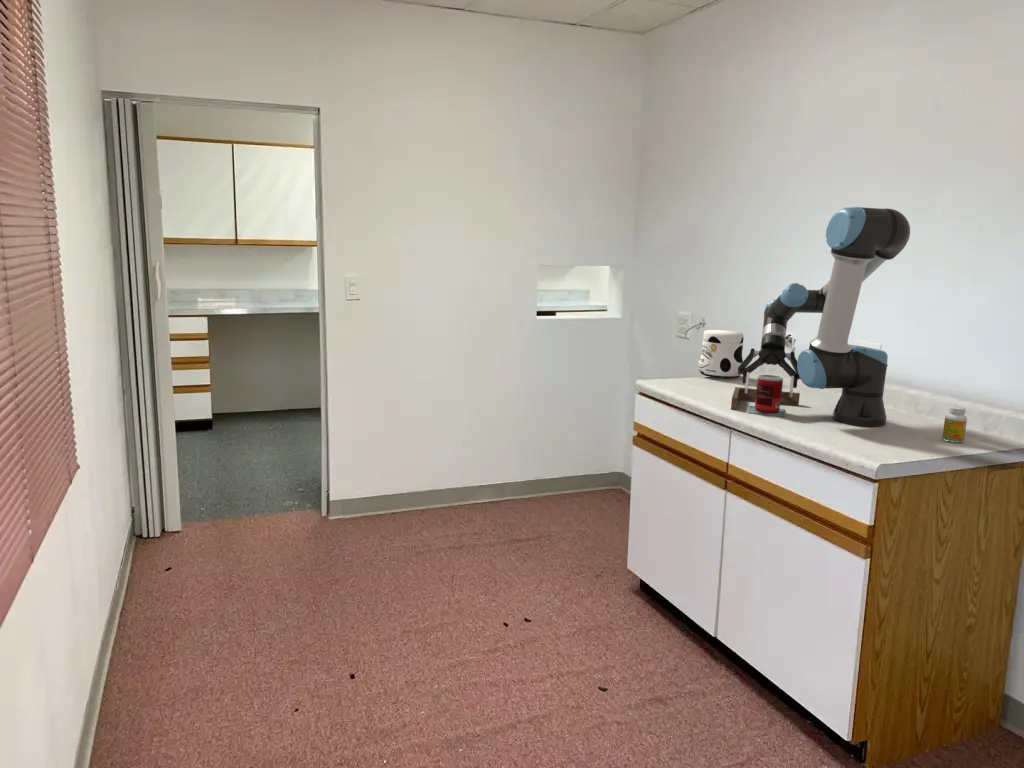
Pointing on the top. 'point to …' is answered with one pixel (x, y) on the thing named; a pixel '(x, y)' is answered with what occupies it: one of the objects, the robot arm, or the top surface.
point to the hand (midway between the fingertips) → (768, 393)
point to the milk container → (721, 354)
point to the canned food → (768, 393)
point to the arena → (751, 396)
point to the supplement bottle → (955, 424)
